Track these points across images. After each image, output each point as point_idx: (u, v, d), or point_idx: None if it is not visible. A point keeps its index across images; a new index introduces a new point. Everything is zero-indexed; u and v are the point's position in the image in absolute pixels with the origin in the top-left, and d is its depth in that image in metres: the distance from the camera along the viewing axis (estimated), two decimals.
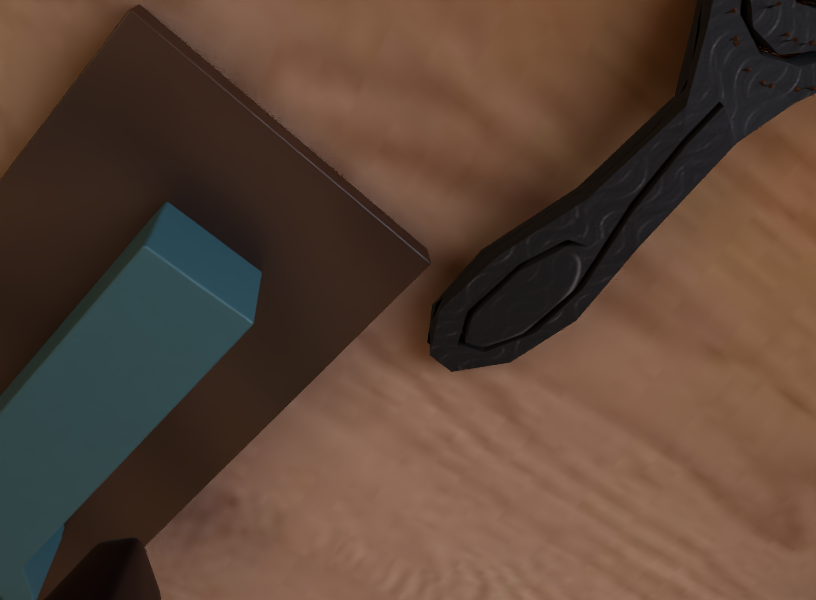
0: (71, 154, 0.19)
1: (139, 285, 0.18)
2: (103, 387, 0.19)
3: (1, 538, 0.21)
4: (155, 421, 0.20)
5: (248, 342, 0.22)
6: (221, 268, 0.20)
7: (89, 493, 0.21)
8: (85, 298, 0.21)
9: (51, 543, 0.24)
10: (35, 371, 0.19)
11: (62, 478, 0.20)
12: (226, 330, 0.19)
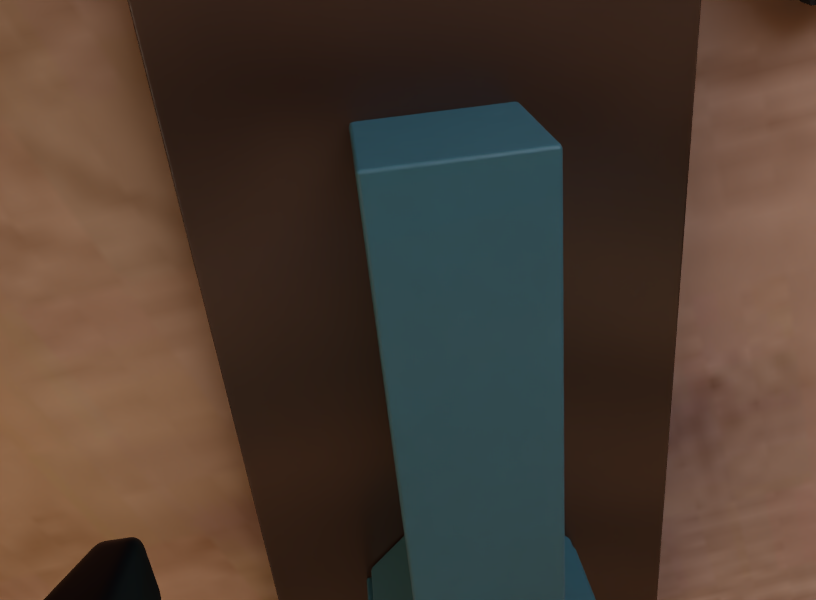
0: (221, 168, 0.14)
1: (396, 224, 0.12)
2: (469, 371, 0.13)
3: None
4: (558, 361, 0.13)
5: (576, 195, 0.15)
6: (467, 129, 0.13)
7: (561, 493, 0.15)
8: None
9: (571, 564, 0.18)
10: (388, 413, 0.14)
11: (519, 499, 0.15)
12: (538, 184, 0.12)
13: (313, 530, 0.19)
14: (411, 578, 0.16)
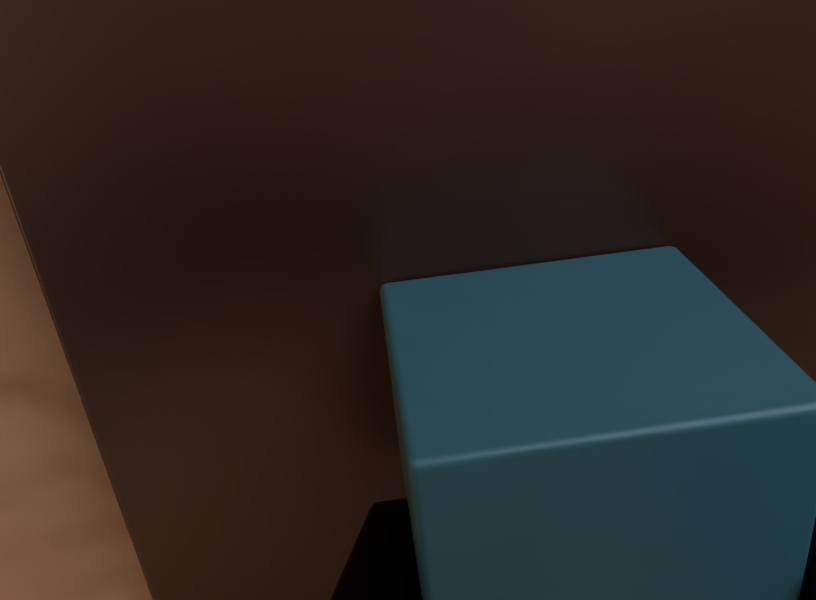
0: (157, 359, 0.08)
1: (486, 550, 0.06)
2: None
3: None
4: None
5: None
6: (610, 325, 0.07)
7: None
8: None
9: None
10: None
11: None
12: (778, 473, 0.06)
13: None
14: None
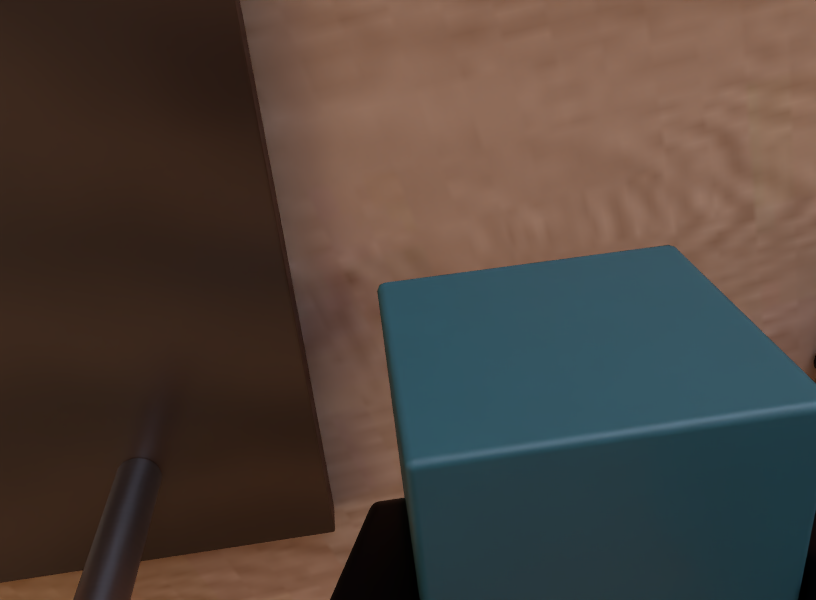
0: None
1: (484, 550, 0.06)
2: None
3: None
4: None
5: (141, 80, 0.17)
6: (608, 326, 0.07)
7: None
8: None
9: None
10: None
11: None
12: (776, 473, 0.06)
13: None
14: None
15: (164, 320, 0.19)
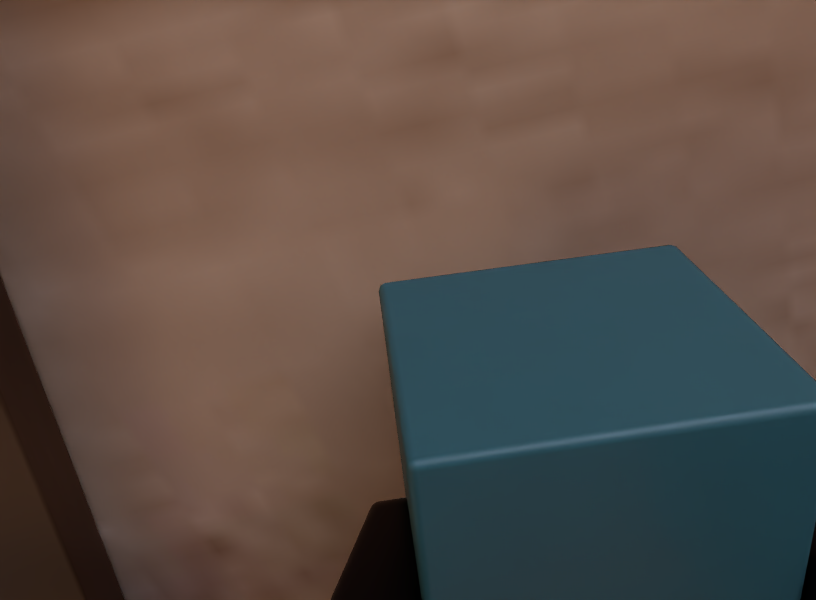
0: None
1: (486, 550, 0.06)
2: None
3: None
4: None
5: None
6: (609, 326, 0.07)
7: None
8: None
9: None
10: None
11: None
12: (779, 473, 0.06)
13: None
14: None
15: None
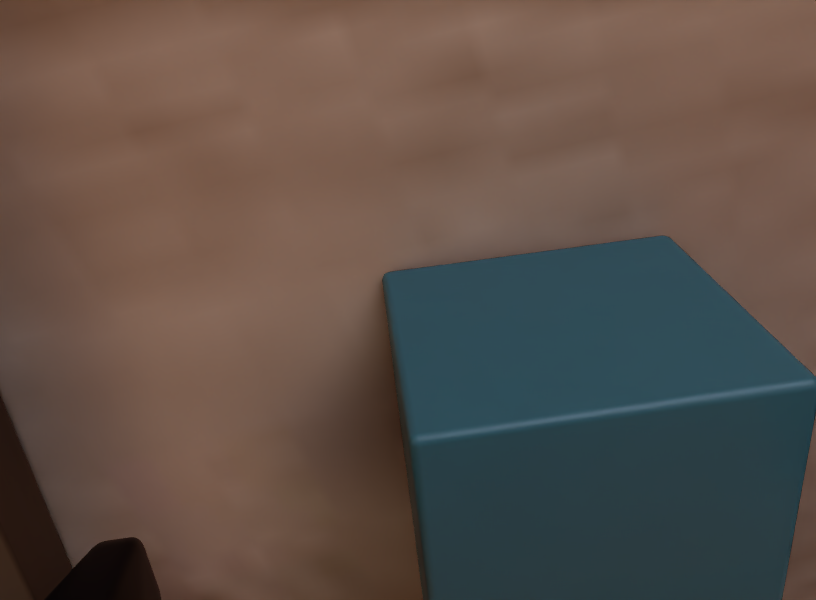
0: None
1: (485, 523, 0.06)
2: None
3: None
4: None
5: None
6: (604, 310, 0.07)
7: None
8: (416, 544, 0.09)
9: None
10: None
11: None
12: (765, 449, 0.06)
13: None
14: None
15: None
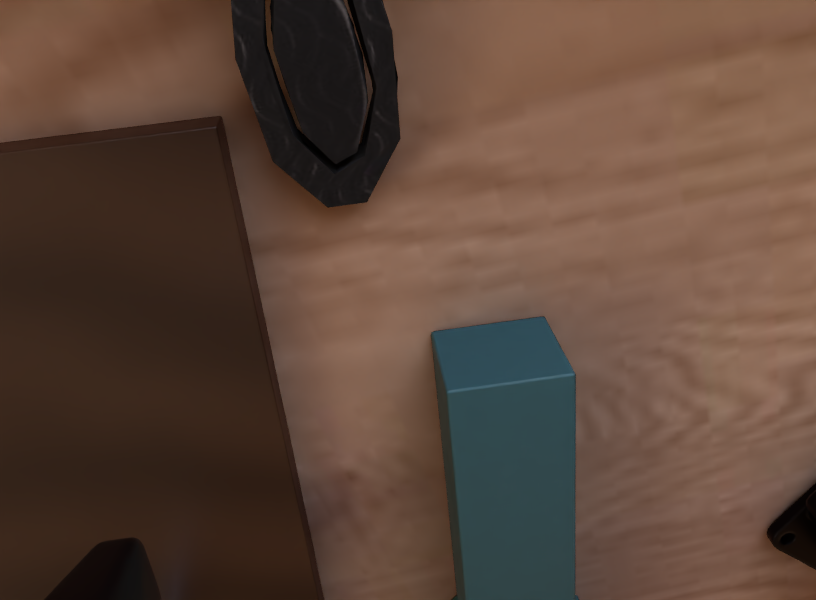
0: None
1: (470, 419, 0.19)
2: (513, 503, 0.20)
3: None
4: (571, 496, 0.20)
5: (170, 345, 0.19)
6: (513, 349, 0.20)
7: (573, 577, 0.22)
8: (443, 444, 0.22)
9: None
10: (459, 529, 0.21)
11: (545, 581, 0.22)
12: (560, 395, 0.19)
13: (14, 597, 0.23)
14: None
15: (188, 522, 0.22)
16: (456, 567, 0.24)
